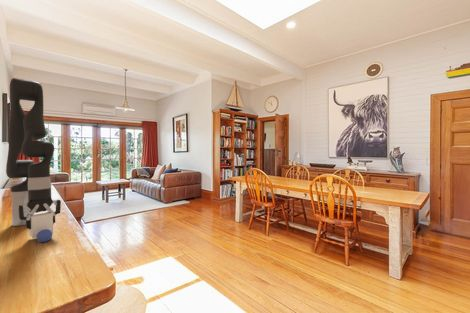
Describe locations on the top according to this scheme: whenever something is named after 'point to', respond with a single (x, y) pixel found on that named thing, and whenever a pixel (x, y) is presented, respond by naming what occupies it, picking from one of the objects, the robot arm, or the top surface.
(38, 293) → the top surface
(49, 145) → the robot arm
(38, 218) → the white block
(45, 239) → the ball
